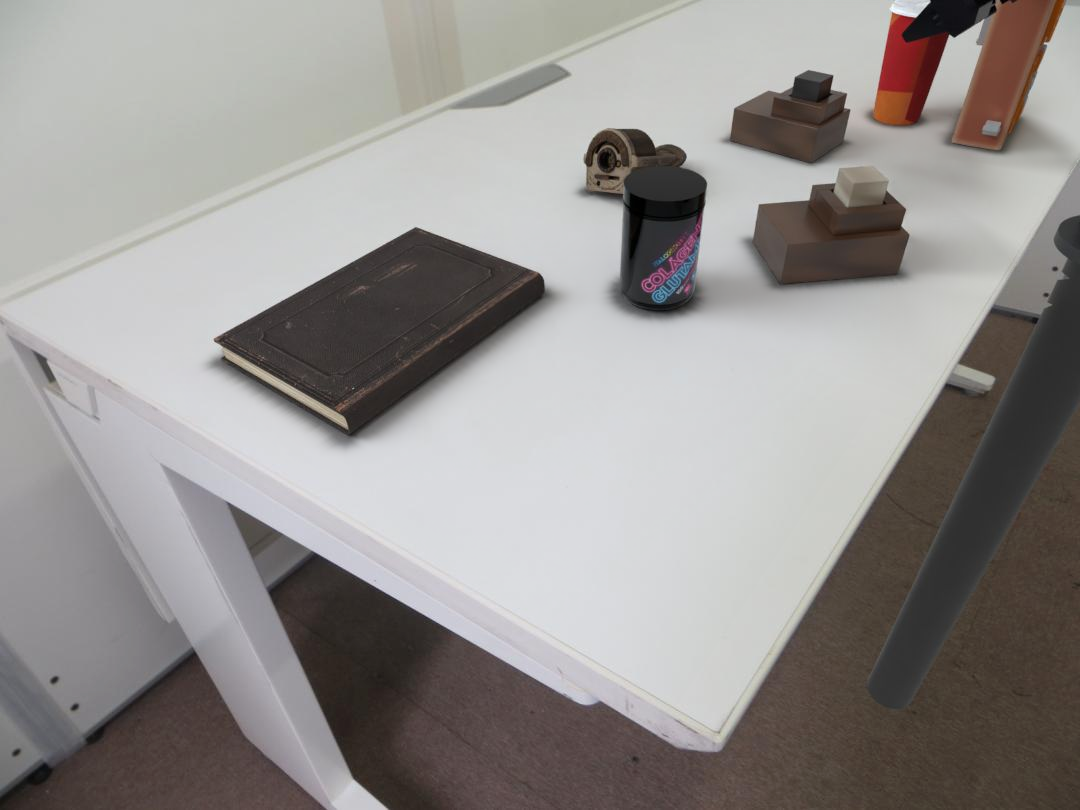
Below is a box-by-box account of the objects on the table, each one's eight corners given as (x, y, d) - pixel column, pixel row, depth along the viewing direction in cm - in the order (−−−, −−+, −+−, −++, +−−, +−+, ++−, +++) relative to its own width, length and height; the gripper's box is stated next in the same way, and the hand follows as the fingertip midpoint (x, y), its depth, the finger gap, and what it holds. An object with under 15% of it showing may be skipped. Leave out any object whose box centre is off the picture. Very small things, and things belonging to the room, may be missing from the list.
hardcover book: (221, 361, 62) (213, 338, 61) (418, 247, 76) (415, 226, 74) (352, 438, 55) (345, 414, 53) (545, 296, 68) (544, 274, 67)
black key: (829, 97, 88) (834, 75, 87) (815, 105, 87) (820, 82, 85) (804, 92, 90) (808, 69, 88) (790, 99, 88) (794, 76, 87)
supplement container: (622, 315, 65) (627, 202, 59) (615, 275, 71) (619, 167, 64) (700, 312, 65) (715, 199, 59) (687, 272, 71) (699, 164, 64)
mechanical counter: (561, 129, 84) (599, 140, 76) (662, 99, 87) (710, 106, 78) (573, 193, 88) (611, 210, 79) (669, 162, 90) (716, 175, 82)
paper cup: (915, 106, 101) (949, -12, 91) (937, 127, 95) (974, 4, 86) (855, 107, 101) (883, -10, 92) (873, 129, 95) (904, 6, 86)
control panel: (1023, 115, 97) (1004, 156, 88) (964, 106, 100) (940, 145, 91) (1098, -82, 83) (1085, -58, 74) (1027, -85, 86) (1005, -62, 77)
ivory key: (866, 192, 70) (873, 165, 68) (881, 207, 67) (889, 180, 65) (832, 194, 69) (838, 167, 68) (846, 210, 67) (853, 182, 65)
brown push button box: (860, 233, 75) (876, 175, 71) (898, 274, 69) (917, 213, 65) (752, 241, 74) (761, 183, 71) (780, 284, 68) (792, 223, 64)
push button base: (843, 142, 92) (854, 91, 88) (811, 163, 88) (821, 111, 84) (763, 121, 98) (771, 73, 94) (729, 140, 94) (736, 90, 90)
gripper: (1055, -171, 70) (903, -47, 83) (981, -152, 60) (821, -14, 73) (1113, -64, 71) (954, 43, 84) (1049, -27, 61) (880, 87, 74)
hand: (904, 37), depth 78 cm, fingers closed
